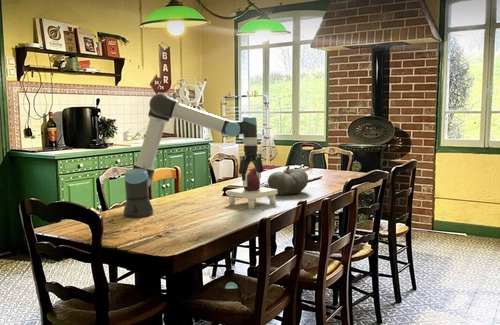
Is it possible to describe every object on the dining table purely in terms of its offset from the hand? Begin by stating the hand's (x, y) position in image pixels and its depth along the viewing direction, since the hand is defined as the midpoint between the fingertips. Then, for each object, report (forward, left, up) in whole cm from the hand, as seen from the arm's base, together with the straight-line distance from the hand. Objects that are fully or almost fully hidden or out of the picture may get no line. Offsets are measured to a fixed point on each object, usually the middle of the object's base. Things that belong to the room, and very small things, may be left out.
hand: (251, 185), depth 271 cm
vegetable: (0, 0, -2) cm, 2 cm away
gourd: (-7, +36, -11) cm, 38 cm away
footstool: (0, 0, -11) cm, 11 cm away
